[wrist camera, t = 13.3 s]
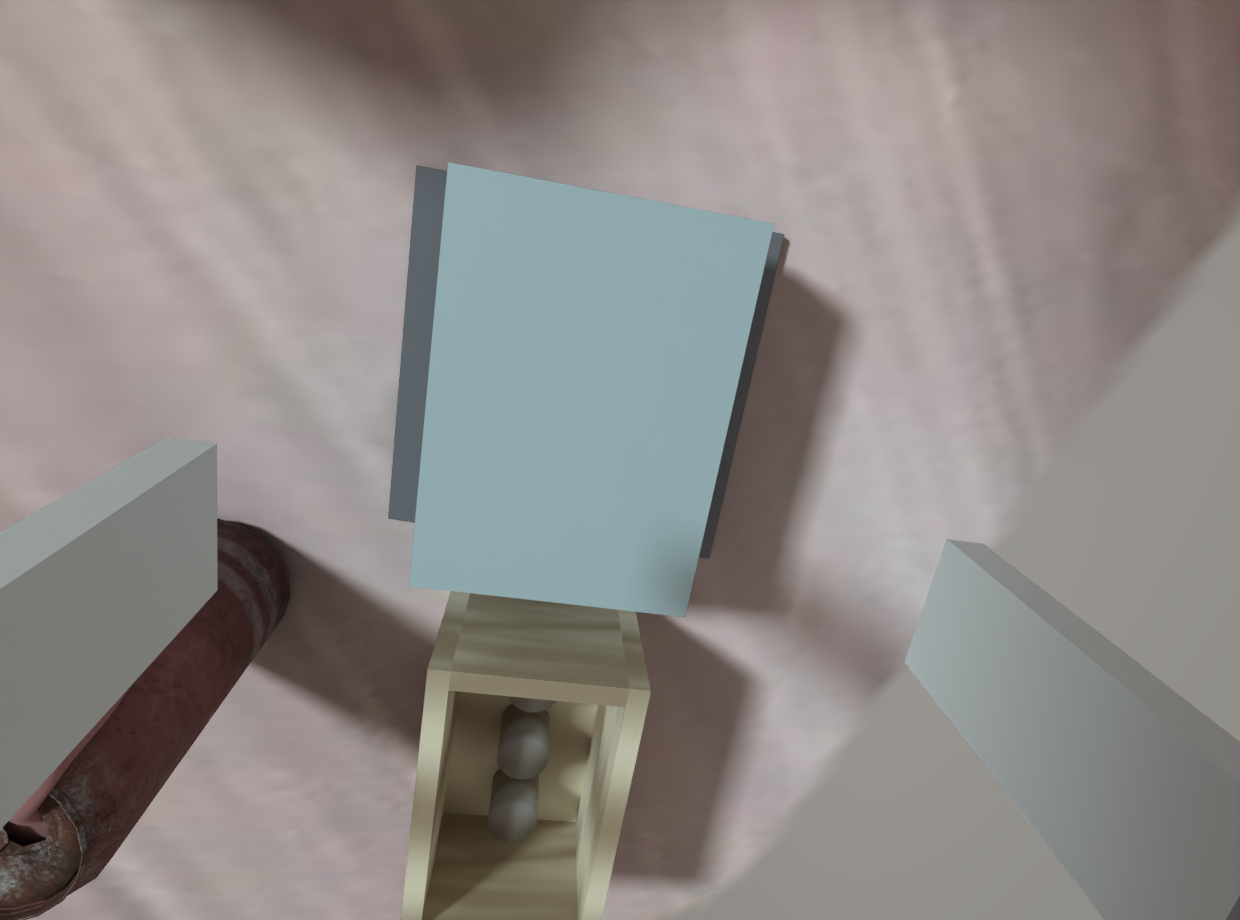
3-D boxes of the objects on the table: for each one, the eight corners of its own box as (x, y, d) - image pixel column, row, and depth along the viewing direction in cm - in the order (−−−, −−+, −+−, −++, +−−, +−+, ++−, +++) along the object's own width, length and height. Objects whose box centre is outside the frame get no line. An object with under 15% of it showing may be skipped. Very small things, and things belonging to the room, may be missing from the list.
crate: (455, 575, 31) (427, 669, 25) (632, 595, 32) (651, 690, 26) (429, 808, 35) (398, 943, 29) (587, 820, 36) (594, 952, 30)
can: (325, 562, 31) (147, 818, 17) (245, 663, 32) (21, 973, 19) (197, 479, 29) (-106, 692, 16) (118, 588, 30) (-225, 871, 17)
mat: (418, 166, 26) (416, 165, 26) (781, 234, 28) (784, 234, 28) (390, 514, 30) (388, 518, 30) (707, 554, 32) (709, 558, 32)
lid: (470, 174, 26) (448, 162, 21) (733, 223, 27) (774, 223, 22) (435, 523, 30) (408, 586, 25) (664, 552, 31) (685, 617, 26)
